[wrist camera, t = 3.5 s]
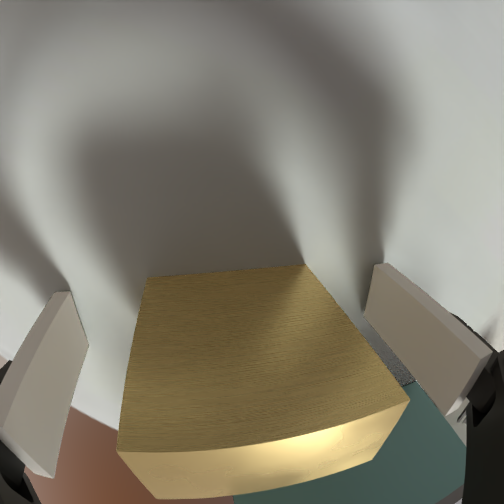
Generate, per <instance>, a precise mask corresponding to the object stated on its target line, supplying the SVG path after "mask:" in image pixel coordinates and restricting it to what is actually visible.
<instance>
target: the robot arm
mask: <svg viewBox="0 0 504 504" xmlns="http://www.w3.org/2000/svg"><path fill="white" fill-rule="evenodd" d="M364 318H365V319H366V320H367V321H368V322H369V323H370V325H371V326H372V327H373V328H374V329H375V331H376V332H377V333H378V334H379V335H380V336H381V338H382V339H383V340H384V341H385V342H386V344H387V345H388V346H389V347H390V348H391V350H392V351H393V352H394V353H395V354H396V356H397V357H398V358H399V359H400V361H401V362H402V363H403V364H404V365H405V367H406V368H407V369H408V370H409V372H410V373H411V374H412V375H413V377H414V378H415V379H416V380H417V382H418V383H419V384H420V385H421V387H422V388H423V389H424V390H425V392H426V393H427V394H428V395H429V397H430V398H431V399H432V401H433V402H434V403H435V404H436V406H437V407H438V408H439V410H440V411H441V412H442V413H443V415H444V416H447V415H448V414H450V413H452V412H453V411H455V410H457V409H458V408H459V407H460V405H461V404H462V403H463V401H464V400H465V398H466V397H467V399H468V400H469V401H470V402H469V403H468V404H467V406H466V407H465V409H464V410H463V412H462V413H461V414H460V416H459V417H458V419H457V423H459V422H460V421H461V420H462V418H463V417H464V416H465V415H466V418H465V419H464V421H463V423H466V466H465V479H464V489H463V497H462V504H504V350H503V351H501V352H499V353H498V352H497V351H496V350H495V349H494V348H493V347H492V346H491V345H490V344H488V343H487V342H486V341H485V340H484V339H483V338H482V337H481V336H480V335H479V334H477V333H476V332H475V331H473V329H472V328H471V327H470V326H467V324H466V323H465V322H464V321H463V320H462V319H460V318H459V317H458V316H456V315H454V314H452V313H450V312H448V311H447V310H446V309H445V308H444V307H442V306H441V305H440V304H439V303H438V302H436V301H435V300H434V299H433V298H432V297H430V296H429V295H428V294H427V293H426V292H424V291H423V290H422V289H421V288H419V287H418V286H417V285H416V284H414V283H413V282H412V281H411V280H409V279H408V278H407V277H406V276H404V275H403V274H402V273H400V272H399V271H398V270H397V269H395V268H394V267H393V266H391V265H390V264H389V263H382V264H374V269H373V275H372V280H371V285H370V290H369V294H368V299H367V304H366V308H365V312H364ZM88 348H89V343H88V341H87V338H86V336H85V333H84V330H83V328H82V325H81V322H80V319H79V316H78V313H77V311H76V308H75V304H74V301H73V298H72V295H71V292H70V291H66V292H55V293H54V294H53V296H52V297H51V299H50V300H49V302H48V303H47V305H46V306H45V308H44V309H43V311H42V312H41V314H40V315H39V317H38V318H37V320H36V322H35V323H34V325H33V326H32V328H31V330H30V331H29V333H28V335H27V336H26V338H25V340H24V341H23V343H22V345H21V347H20V348H19V350H18V352H17V354H16V356H15V357H14V359H13V361H10V360H9V361H8V362H7V363H6V364H5V365H4V366H3V367H2V368H1V369H0V504H41V502H40V500H39V498H38V496H37V494H36V492H35V491H34V488H33V486H32V484H31V482H30V480H29V478H28V476H27V475H26V474H25V473H24V468H25V465H26V466H27V467H28V468H29V469H30V470H31V471H32V472H34V473H35V474H38V475H41V476H45V477H49V478H54V476H55V470H56V465H57V460H58V455H59V450H60V445H61V441H62V436H63V432H64V428H65V424H66V420H67V416H68V412H69V408H70V405H71V401H72V398H73V394H74V391H75V388H76V384H77V381H78V378H79V375H80V371H81V368H82V365H83V362H84V359H85V356H86V354H87V351H88Z"/></svg>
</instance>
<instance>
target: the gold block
mask: <svg viewBox="0 0 504 504" xmlns="http://www.w3.org/2000/svg"><path fill="white" fill-rule="evenodd" d="M410 400H411V399H410V398H409V397H408V395H407V394H406V393H405V391H404V390H403V388H402V387H401V386H400V384H399V383H398V382H397V380H396V379H395V378H394V376H393V375H392V374H391V372H390V371H389V370H388V368H387V367H386V366H385V364H384V363H383V362H382V360H381V359H380V358H379V356H378V355H377V354H376V353H375V351H374V350H373V349H372V347H371V346H370V345H369V343H368V342H367V341H366V340H365V338H364V337H363V336H362V334H361V333H360V332H359V330H358V329H357V328H356V327H355V325H354V324H353V323H352V322H351V320H350V319H349V318H348V316H347V315H346V314H345V313H344V311H343V310H342V309H341V308H340V306H339V305H338V304H337V303H336V301H335V300H334V299H333V298H332V296H331V295H330V294H329V293H328V291H327V290H326V289H325V288H324V286H323V285H322V284H321V283H320V281H319V280H318V279H317V278H316V276H315V275H314V274H313V273H312V272H311V270H310V269H309V268H308V267H307V265H306V264H301V265H290V266H280V267H269V268H258V269H247V270H236V271H224V272H212V273H200V274H188V275H175V276H162V277H149V278H147V281H146V285H145V289H144V293H143V297H142V301H141V305H140V309H139V314H138V318H137V323H136V327H135V332H134V337H133V342H132V347H131V352H130V357H129V363H128V368H127V374H126V380H125V386H124V393H123V400H122V407H121V414H120V422H119V430H118V440H117V450H116V451H117V453H118V454H119V455H120V457H121V458H122V459H123V461H124V462H125V463H126V464H127V466H128V467H129V468H130V469H131V470H132V472H133V473H134V474H135V475H136V477H137V478H138V479H139V480H140V481H141V482H142V483H143V484H144V486H145V487H146V488H147V489H148V490H149V491H150V492H151V493H152V495H153V496H154V497H155V498H156V499H192V498H193V499H194V498H210V497H222V496H231V495H239V494H246V493H253V492H259V491H265V490H270V489H275V488H280V487H285V486H289V485H294V484H298V483H302V482H306V481H310V480H313V479H317V478H320V477H324V476H327V475H330V474H334V473H337V472H340V471H343V470H346V469H349V468H351V467H354V466H357V465H360V464H362V463H365V462H368V461H370V460H372V459H373V457H374V456H375V455H376V453H377V452H378V450H379V449H380V448H381V446H382V445H383V443H384V442H385V440H386V439H387V437H388V436H389V434H390V433H391V431H392V430H393V428H394V426H395V425H396V423H397V422H398V420H399V418H400V417H401V415H402V413H403V412H404V410H405V408H406V407H407V405H408V403H409V401H410Z"/></svg>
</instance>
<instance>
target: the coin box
mask: <svg viewBox="0 0 504 504" xmlns="http://www.w3.org/2000/svg"><path fill="white" fill-rule="evenodd" d="M402 388H403V390H404V391H405V393H406V394H407V395H408V397H409V398H410V399H411V400H410V401H409V403H408V405H407V407H406V408H405V410H404V412H403V413H402V415H401V417H400V418H399V420H398V422H397V423H396V425H395V426H394V428H393V430H392V431H391V433H390V434H389V436H388V437H387V439H386V440H385V442H384V443H383V445H382V446H381V448H380V449H379V450H378V452H377V453H376V455H375V456H374V457H373V459H372V460H370V461H368V462H365V463H362V464H360V465H357V466H354V467H351V468H349V469H346V470H343V471H340V472H337V473H334V474H330V475H327V476H324V477H320V478H317V479H313V480H310V481H306V482H302V483H298V484H294V485H289V486H285V487H280V488H275V489H270V490H265V491H259V492H253V493H246V494H239V495H233V500H234V504H455V503H456V502H457V501H459V500H460V499H461V498H462V497H463V489H464V479H465V466H466V446H465V444H464V443H463V442H462V440H461V439H460V438H459V436H458V435H457V434H456V432H455V431H454V430H453V428H452V427H451V425H450V424H449V423H448V421H447V420H446V419H445V418H444V416H443V415H442V414H441V412H440V411H439V410H438V408H437V407H436V406H435V404H434V403H433V402H432V401H431V399H430V398H429V397H428V395H427V394H426V393H425V392H424V390H423V389H422V388H421V387H420V385H419V384H418V383H417V381H415V382H413V383H411V384H408V385H406V386H403V387H402Z"/></svg>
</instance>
